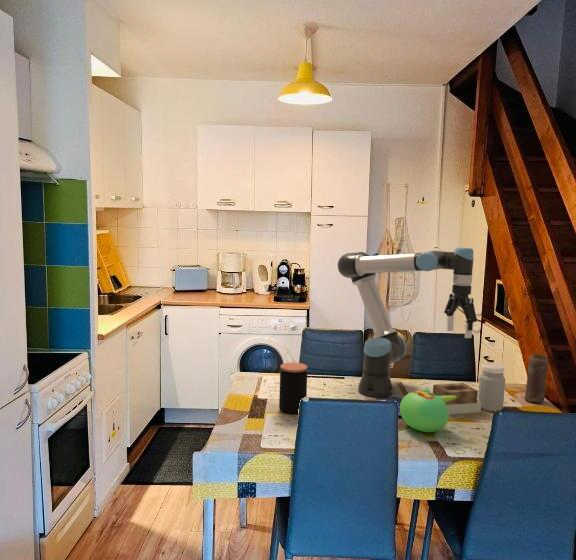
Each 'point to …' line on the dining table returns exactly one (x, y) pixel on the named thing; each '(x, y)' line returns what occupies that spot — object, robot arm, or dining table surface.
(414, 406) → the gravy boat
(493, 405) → the jar
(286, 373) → the coffee jar
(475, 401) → the brown hollow cube
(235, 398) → the dining table surface
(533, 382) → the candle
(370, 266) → the robot arm
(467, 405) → the panel
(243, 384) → the dining table surface
